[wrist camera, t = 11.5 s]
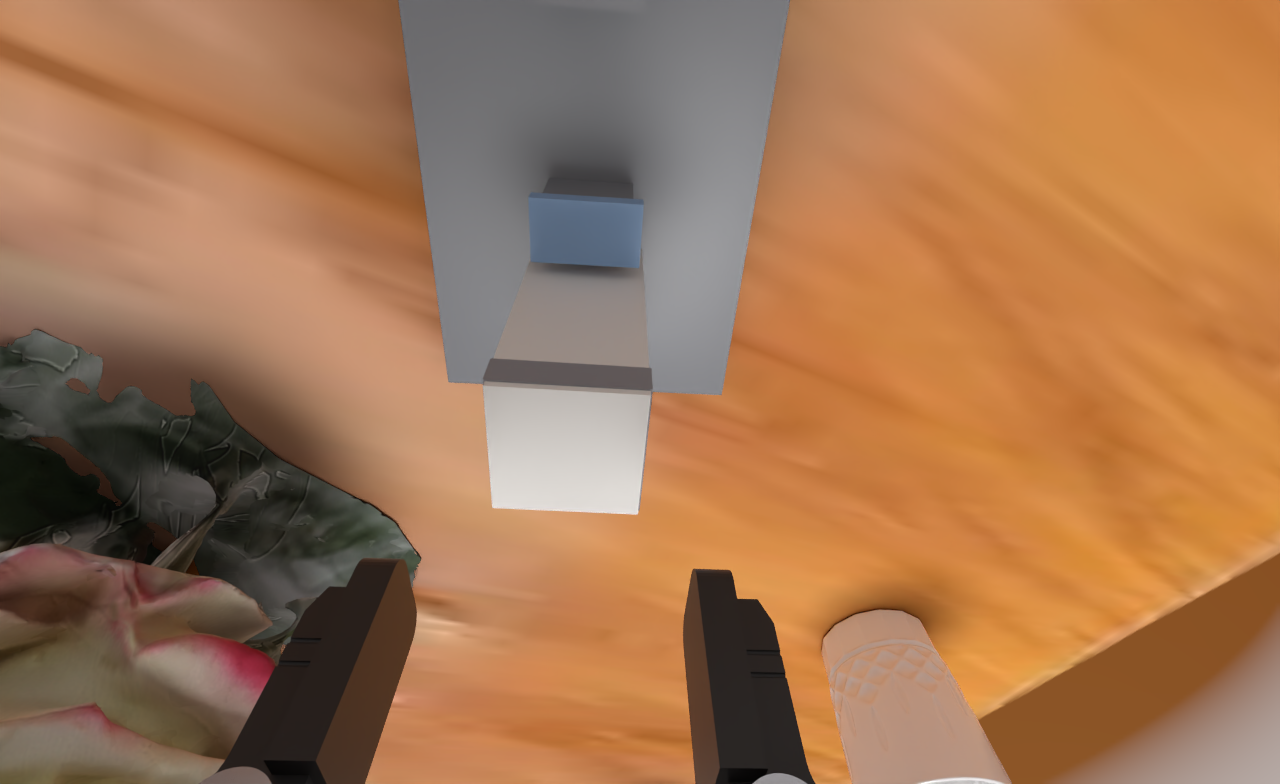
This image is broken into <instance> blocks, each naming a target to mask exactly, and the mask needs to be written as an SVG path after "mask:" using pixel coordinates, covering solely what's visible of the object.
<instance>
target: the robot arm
mask: <svg viewBox="0 0 1280 784" xmlns="http://www.w3.org/2000/svg"><path fill="white" fill-rule="evenodd" d="M416 617H417V611H416V604H415V599H414V595H413V590H412V586H411V581H410V577H409V573H408V568H407V564H406V562H405V560H404V559H387V558H363V559H361V560H360V561H359V562H358V564H357V566H356V568H355V570H354V572H353V574H352V576H351V578H350V580H349V582H348V584H347V586H346V587H334V586H329V587H328V588H327V589H326V590H325V591H324V592H323V593H322V594H321V595H320V596H319V597H318V598H317V599H316V600H315V601H314V602H313V603H312V604H311V605H310V606H309V607H308V608H307V609H306V610H305V611H304V613H303V615H302V617H301V619H300V621H299V623H298V624H297V626H296V628H295V630H294V632H293V634H292V636H291V641H290V643H287V645H286V647H285V649H284V651H283V653H282V655H281V657H280V659H279V663H278V666H275V668H274V670H273V672H272V674H271V676H270V678H269V679H268V681H267V683H266V685H265V687H264V689H263V691H262V693H261V695H260V696H259V698H258V700H257V702H256V704H255V706H254V708H253V710H252V712H251V714H250V715H249V717H248V719H247V721H246V723H245V725H244V727H243V729H242V731H241V733H240V734H239V736H238V738H237V740H236V742H235V744H234V746H233V748H232V750H231V751H230V753H229V755H228V757H227V758H226V760H225V761H224V763H223V764H222V765H221V767H220V768H219V769H218V771H217V772H216V773H215V774H213V775H212V776H210V777H208V778H206V779H205V780H203V781H202V782H200V783H199V784H365V781H366V778H367V775H368V772H369V769H370V766H371V763H372V760H373V757H374V754H375V751H376V748H377V745H378V742H379V739H380V736H381V733H382V731H383V728H384V725H385V722H386V719H387V716H388V713H389V710H390V707H391V704H392V701H393V698H394V695H395V692H396V689H397V686H398V683H399V680H400V677H401V674H402V671H403V668H404V665H405V662H406V659H407V656H408V653H409V650H410V647H411V644H412V641H413V637H414V633H415V627H416ZM683 643H684V657H685V668H686V679H687V691H688V702H689V713H690V725H691V736H692V748H693V759H694V770H695V782H696V784H815V782H814V780H813V779H812V776H811V774H810V772H809V769H808V766H807V763H806V759H805V754H804V750H803V746H802V742H801V737H800V733H799V729H798V725H797V720H796V716H795V712H794V708H793V703H792V699H791V695H790V691H789V686H788V682H787V678H785V669H784V665H783V661H782V657H781V656H780V648H779V644H778V640H777V635H776V631H775V627H774V623H773V622H772V620H771V619H770V617H769V616H768V614H767V613H766V611H765V610H764V608H763V607H762V605H761V604H760V602H759V601H758V599H737V596H736V591H735V585H734V580H733V576H732V573H731V571H730V570H712V569H693V571H692V574H691V580H690V586H689V591H688V597H687V603H686V609H685V614H684V625H683Z"/></svg>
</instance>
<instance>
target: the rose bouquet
mask: <svg viewBox="0 0 1280 784" xmlns="http://www.w3.org/2000/svg"><path fill="white" fill-rule="evenodd" d="M102 362H103V359H102V358H101V357H100V356H99V355H98V356H96V357H95V356H94V355H93V354H92V353H91V354H87V353H86V352H85V351H84V350H83V349H82V348H81V347H78V346H74V345H71V344H68V343H65V342H63V341H61V340H58V339H56V338H54V337H52V336H49V335H48V334H46V333H44V332H41V331H38V330H36V329H35V330H33V331H32V332H31V335H29V336H25V337H22V338H18V339H17V340H15V342H14V344H12V345H10V344H9V343H8V346H7V348H6V347H2V346H0V784H199V783H200V782H202V781H203V780H205V779H206V778H208V777H210V776H212V775H213V774H215V773H216V772H217V771H218V769H219V768H220V767H221V765H222V764H223V763H224V761H225V760H226V758H227V757H228V755H229V753H230V751H231V750H232V748H233V746H234V744H235V742H236V740H237V738H238V736H239V734H240V733H241V731H242V729H243V727H244V725H245V723H246V721H247V719H248V717H249V715H250V714H251V712H252V710H253V708H254V706H255V704H256V702H257V700H258V698H259V696H260V695H261V693H262V691H263V689H264V687H265V685H266V683H267V681H268V679H269V678H270V676H271V674H272V672H273V670H274V668H275V666H278V663H279V659H280V657H281V647H282V644H284V645H287V643H290V641H291V636H292V634H293V632H294V630H295V628H296V626H297V624H298V623H299V621H300V619H301V617H302V615H303V613H304V611H305V610H306V609H307V608H308V607H309V606H310V605H311V604H312V603H313V602H314V601H315V600H316V599H317V598H318V597H319V596H320V595H321V594H322V593H323V592H324V591H325V590H326V589H327V588H328V587H329V586H334V587H346V586H347V584H348V582H349V580H350V578H351V576H352V574H353V572H354V570H355V568H356V566H357V564H358V562H359V561H360V560H361V559H363V558H387V559H404V560H405V562H406V564H407V568H408V573H409V577H410V581H411V586H412V587H413V579H414V578H415V575H414V570H415V569H417V568H416V567H419V566H418V565H417V564H419V563H420V561H421V558H420V556H419V554H418V552H417V551H416V550H415V549H414V548H413V547H412V546H411V545H410V544H409V542H408V541H407V539H406V538H405V536H404V535H403V534H402V532H401V531H400V529H399V527H398V526H397V525H396V523H395V522H393V521H392V520H391V519H389V518H388V517H386V516H384V515H383V514H382V513H380V512H379V511H378V510H377V509H376V508H374V507H373V506H371V505H369V504H367V503H365V502H363V501H361V500H359V499H357V498H355V497H353V496H351V495H349V494H347V493H345V492H343V491H341V490H339V489H337V488H335V487H333V486H331V485H329V484H327V483H325V482H323V481H321V480H319V479H318V478H316V477H314V476H312V475H310V474H308V473H306V472H304V471H302V470H300V469H298V468H296V467H294V466H292V465H290V464H288V463H286V462H284V461H282V460H280V459H279V458H278V457H276V456H275V455H274V454H273V453H272V452H270V451H269V450H268V449H267V448H265V447H264V446H263V445H262V444H261V443H259V442H258V441H257V440H256V439H254V438H253V437H252V436H251V435H250V434H248V433H247V432H246V431H245V430H243V429H242V428H241V427H240V426H238V425H237V424H236V423H235V422H234V421H233V420H232V418H231V417H230V415H229V414H228V412H227V411H226V410H225V408H224V407H223V405H222V404H221V402H220V401H219V399H218V398H217V397H216V395H215V394H214V392H213V391H212V389H211V388H210V386H209V385H208V384H206V383H205V382H201V383H200V384H199V385H198V384H197V383H196V382H195V381H194V380H193V379H191V402H192V403H193V405H194V408H195V410H196V413H195V415H194V416H187V415H184V416H183V415H180V416H175V415H174V414H172V413H171V412H169V411H168V410H166V409H165V408H163V407H161V406H160V405H157V404H155V403H154V402H152V401H150V400H148V399H147V398H146V397H145V396H143V395H142V390H140V389H139V388H137V387H134V386H128V387H126V388H125V389H124V390H123V391H122V392H121V393H120V394H118V395H117V396H116V397H115V399H114V400H113V402H112V403H107V402H105V401H104V400H102V399H101V398H100V397H99V394H98V392H97V391H96V390H97V388H98V384H99V382H100V379H101V376H102V371H103V366H102ZM70 378H77V379H79V380H80V381H82V382H83V383H85V385H86V386H87V388H88V389H90V390H91V391H90V393H89V394H85V393H81V392H78V391H74V390H72V389H71V388H69V386H68V385H66V384H65V383H67V381H69V380H70ZM52 436H56V437H60V438H62V439H63V440H65V441H66V442H68V443H69V444H70V445H71V446H72V447H74V448H75V449H76V450H77V451H78V452H80V453H81V454H82V455H83V456H84V457H86V458H87V459H88V460H90V461H91V462H92V463H93V464H94V465H95V466H96V467H98V468H100V470H101V472H103V473H104V475H105V476H106V478H107V479H108V480H109V482H110V484H111V487H112V490H113V493H114V495H115V496H116V497H117V498H118V499H119V500H120V501H121V502H122V504H121V505H120V506H116V504H115V503H117V502H118V501H117V502H113V501H112V500H110V499H108V498H107V497H105V496H103V495H101V494H99V493H98V492H97V489H99V487H100V480H99V478H98V477H97V476H96V475H94V474H89V475H87V476H80V475H78V474H77V473H75V472H74V471H73V470H71V469H70V468H69V466H68V465H67V463H66V461H65V459H64V458H62V457H61V455H59V454H57V453H56V452H54V451H52V450H50V449H49V448H46V447H44V446H42V445H41V444H39V443H38V442H34V441H33V440H31V439H30V438H31V437H49V438H51V437H52ZM149 522H153V523H156V524H158V525H160V526H161V527H163V528H164V529H166V530H167V531H169V532H170V533H171V534H172V535H173V536H174V537H176V538H177V540H176V541H175V542H173V543H172V544H171V545H170V546H169V547H168V548H167V549H166V550H165V551H164V552H161V551H160V550H158V549H157V548H155V547H154V546H153V545H152V543H153V542H152V541H153V539H154V533H155V532H154V531H152V530H151V529H150V528H149V527H148V526H147V524H148V523H149ZM414 551H415V552H416V553H417V555H416V554H415V552H414ZM193 559H194V562H195V565H196V567H197V570H198V572H199V575H192V574H186V573H185V572H186V571H187V569H188V568H189V566H190V564H191V562H192V561H193Z"/></svg>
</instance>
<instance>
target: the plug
mask: <svg viewBox="0 0 1280 784" xmlns="http://www.w3.org/2000/svg"><path fill="white" fill-rule="evenodd" d="M482 381H483V394H484V407H485V420H486V433H487V445H488V458H489V471H490V484H491V497H492V508H505V509H527V510H549V511H571V512H594V513H616V514H638V511H639V509H640V500H641V491H642V482H643V473H644V464H645V456H646V447H647V438H648V429H649V420H650V411H651V402H652V393H653V383H652V368H649V355H648V339H647V322H646V305H645V289H644V272H643V256H642V250H640V264H639V268H627V267H610V266H592V265H575V264H558V263H540V262H531V259H530V261H529V264H528V267H527V269H526V272H525V275H524V277H523V280H522V283H521V285H520V288H519V291H518V293H517V296H516V299H515V301H514V304H513V307H512V309H511V312H510V315H509V317H508V320H507V323H506V325H505V328H504V331H503V333H502V336H501V339H500V341H499V344H498V347H497V349H496V352H495V355H494V357H493V358H490V361H489V363H488V366H487V369H486V371H485V374H484V376H483V379H482Z"/></svg>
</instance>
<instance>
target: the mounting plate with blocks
mask: <svg viewBox="0 0 1280 784" xmlns="http://www.w3.org/2000/svg"><path fill="white" fill-rule="evenodd" d="M398 1H399V9H400V16H401V24H402V32H403V39H404V47H405V54H406V62H407V70H408V77H409V85H410V93H411V100H412V108H413V115H414V123H415V131H416V138H417V146H418V153H419V161H420V169H421V176H422V184H423V192H424V199H425V207H426V214H427V222H428V230H429V237H430V245H431V253H432V260H433V268H434V275H435V283H436V291H437V298H438V306H439V314H440V321H441V329H442V336H443V344H444V352H445V359H446V367H447V374H448V382H454V383H475V384H483V381H482V379H483V376H484V374H485V371H486V369H487V366H488V363H489V361H490V358H493V357H494V355H495V352H496V349H497V347H498V344H499V341H500V339H501V336H502V333H503V331H504V328H505V325H506V323H507V320H508V317H509V315H510V312H511V309H512V307H513V304H514V301H515V299H516V296H517V293H518V291H519V288H520V285H521V283H522V280H523V277H524V275H525V272H526V269H527V267H528V264H529V261H530V259H531V262H540V263H558V264H575V265H592V266H610V267H627V268H639V264H640V250H642V256H643V272H644V289H645V305H646V322H647V339H648V355H649V368H652V383H653V392H667V393H689V394H710V395H722V389H723V383H724V378H725V372H726V366H727V360H728V355H729V349H730V343H731V337H732V332H733V326H734V320H735V314H736V309H737V303H738V297H739V291H740V285H741V280H742V274H743V268H744V262H745V257H746V251H747V245H748V239H749V234H750V228H751V222H752V216H753V211H754V205H755V199H756V193H757V187H758V182H759V176H760V170H761V164H762V159H763V153H764V147H765V141H766V136H767V130H768V124H769V118H770V112H771V107H772V101H773V95H774V89H775V84H776V78H777V72H778V66H779V61H780V55H781V49H782V43H783V38H784V32H785V26H786V20H787V14H788V9H789V3H790V0H398Z"/></svg>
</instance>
